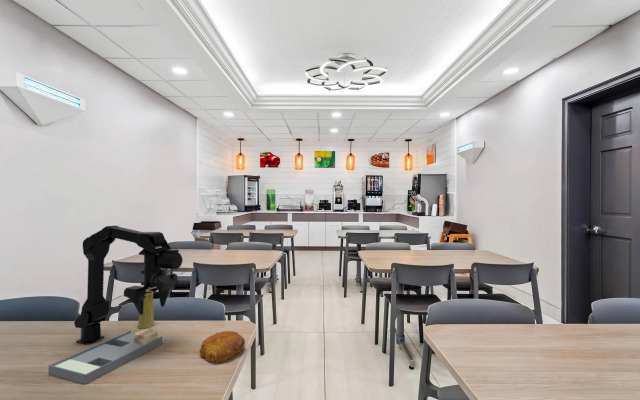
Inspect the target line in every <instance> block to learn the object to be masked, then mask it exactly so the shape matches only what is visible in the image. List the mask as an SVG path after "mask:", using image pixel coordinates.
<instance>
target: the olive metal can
mask: <svg viewBox="0 0 640 400" xmlns="http://www.w3.org/2000/svg"><path fill="white" fill-rule="evenodd" d="M144 296H146V298H145V299H144V307H143V315H140V314H139V313H138V322H137V328H138V329H140V330H141V329H142V330H145V329H150V328H151V327H154V325H155V321H154V319H155V318H154V317H155V315H154V291H152V290H149V291H146V294H145V295H144Z"/></svg>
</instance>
